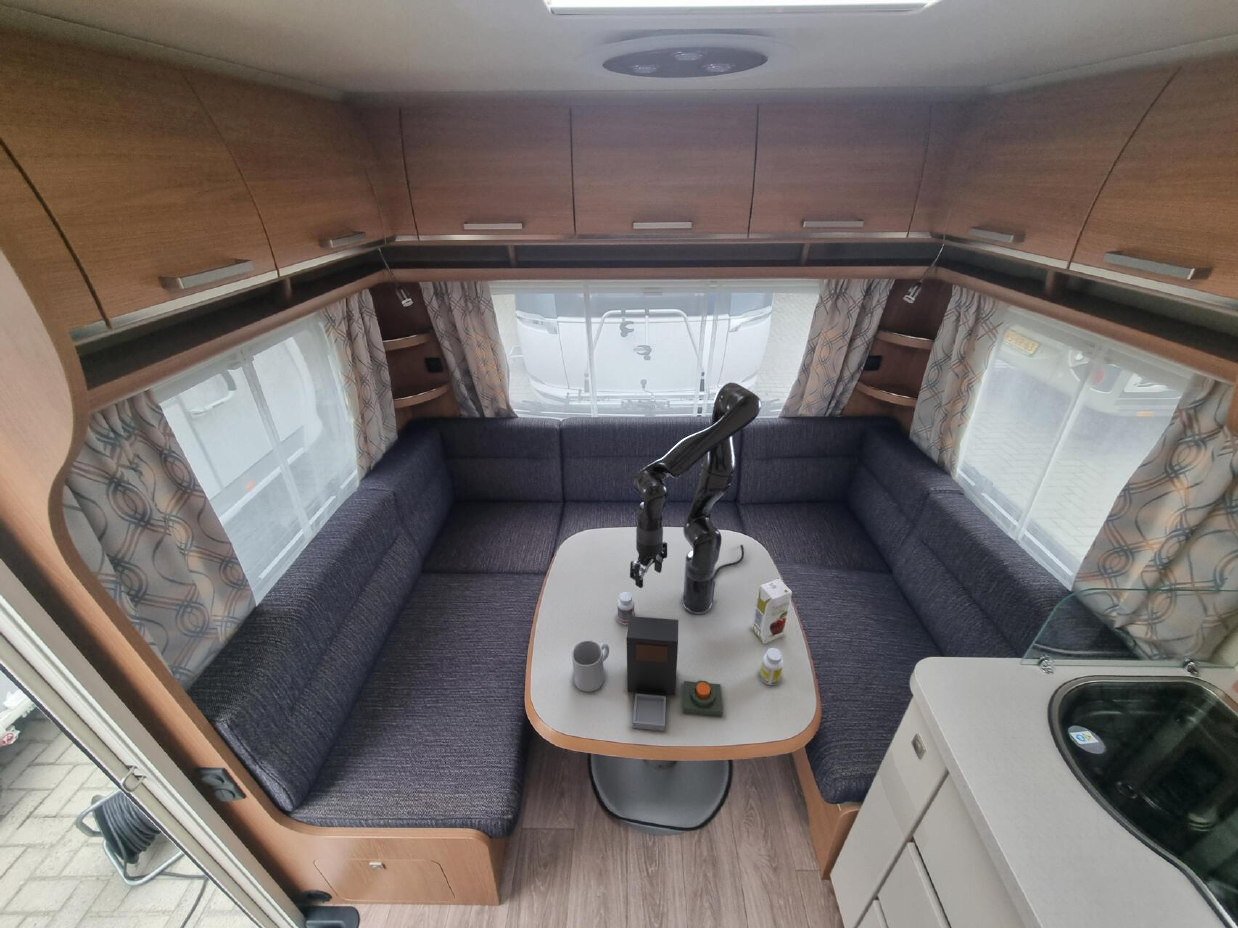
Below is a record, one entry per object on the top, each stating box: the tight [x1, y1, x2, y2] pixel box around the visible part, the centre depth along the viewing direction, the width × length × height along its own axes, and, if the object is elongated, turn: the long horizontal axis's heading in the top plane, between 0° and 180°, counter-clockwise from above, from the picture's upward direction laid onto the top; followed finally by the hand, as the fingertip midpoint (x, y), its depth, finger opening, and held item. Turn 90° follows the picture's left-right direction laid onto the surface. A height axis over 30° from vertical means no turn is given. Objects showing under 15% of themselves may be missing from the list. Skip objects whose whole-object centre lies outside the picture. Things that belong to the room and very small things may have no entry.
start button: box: [696, 682, 710, 699], centre depth 129 cm, size 4×4×2 cm
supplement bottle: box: [759, 647, 784, 686], centre depth 135 cm, size 5×5×10 cm
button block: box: [682, 680, 723, 717], centre depth 130 cm, size 8×10×4 cm
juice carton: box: [751, 577, 793, 645], centre depth 145 cm, size 8×9×19 cm
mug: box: [571, 640, 610, 693], centre depth 136 cm, size 12×8×11 cm
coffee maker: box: [625, 615, 680, 732], centre depth 127 cm, size 17×13×22 cm
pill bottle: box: [616, 591, 635, 626], centre depth 154 cm, size 5×5×10 cm
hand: (648, 578), depth 146 cm, fingers open, 8 cm apart
